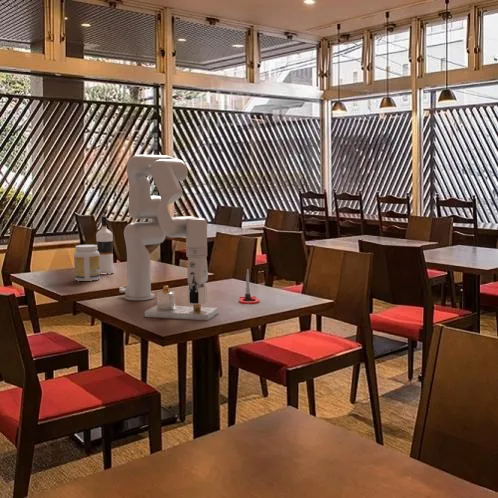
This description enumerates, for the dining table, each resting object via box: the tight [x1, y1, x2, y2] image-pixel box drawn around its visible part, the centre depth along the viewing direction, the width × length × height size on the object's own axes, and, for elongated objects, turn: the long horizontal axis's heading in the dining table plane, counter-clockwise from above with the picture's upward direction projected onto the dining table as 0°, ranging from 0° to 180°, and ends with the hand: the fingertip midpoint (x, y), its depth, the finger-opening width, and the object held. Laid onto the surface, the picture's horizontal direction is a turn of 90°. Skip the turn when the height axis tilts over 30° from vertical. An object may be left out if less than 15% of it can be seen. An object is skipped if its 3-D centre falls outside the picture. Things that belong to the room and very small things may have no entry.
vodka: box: [95, 215, 115, 274], centre depth 327 cm, size 9×9×30 cm
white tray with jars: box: [144, 285, 219, 321], centre depth 231 cm, size 24×12×10 cm, turn 76°
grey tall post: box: [238, 268, 260, 305], centre depth 255 cm, size 8×13×9 cm
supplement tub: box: [73, 244, 101, 282], centre depth 307 cm, size 12×12×17 cm
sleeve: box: [187, 284, 208, 305], centre depth 229 cm, size 7×7×6 cm
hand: (197, 300), depth 229 cm, fingers closed on sleeve, 6 cm apart
